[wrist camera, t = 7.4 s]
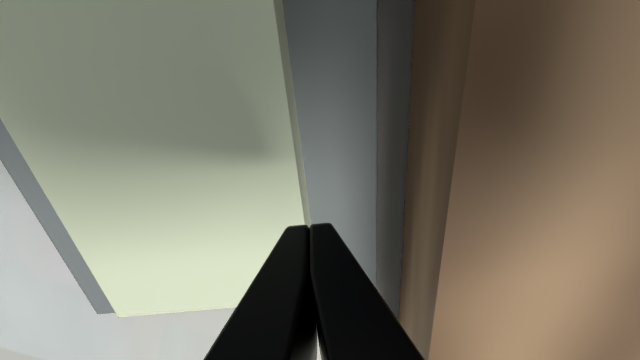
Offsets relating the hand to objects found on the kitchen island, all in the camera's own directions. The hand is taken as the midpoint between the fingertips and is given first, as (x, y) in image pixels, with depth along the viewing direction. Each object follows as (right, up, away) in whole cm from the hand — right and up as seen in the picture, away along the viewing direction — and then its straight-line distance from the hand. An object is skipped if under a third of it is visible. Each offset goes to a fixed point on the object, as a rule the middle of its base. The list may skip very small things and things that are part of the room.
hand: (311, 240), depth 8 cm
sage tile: (-3, +1, +2) cm, 4 cm away
